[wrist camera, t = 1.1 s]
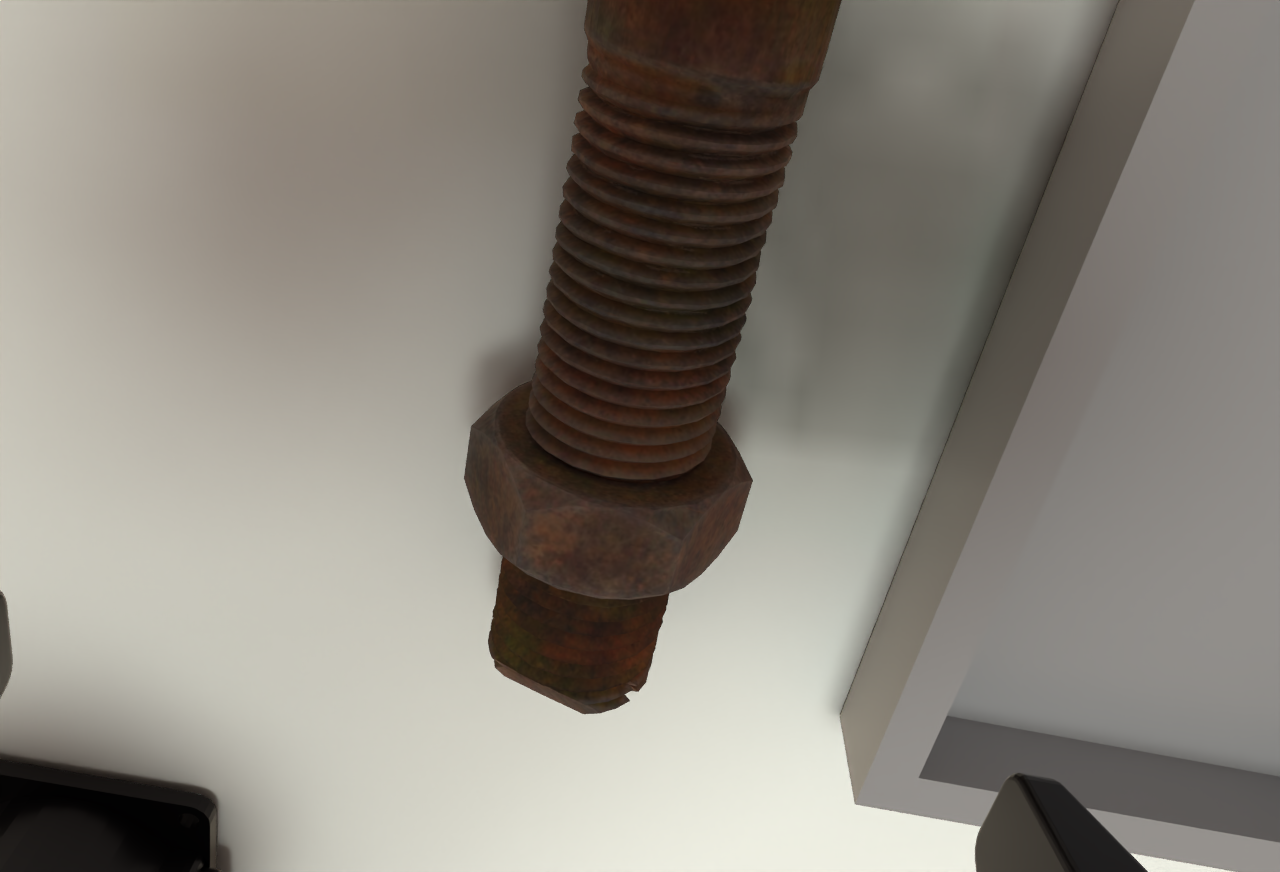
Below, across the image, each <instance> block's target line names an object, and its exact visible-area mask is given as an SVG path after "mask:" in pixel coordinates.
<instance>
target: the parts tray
mask: <svg viewBox="0 0 1280 872" xmlns="http://www.w3.org/2000/svg"><path fill="white" fill-rule="evenodd" d="M840 722H841V727H842V733H843V739H844V744H845V750H846V756H847V762H848V767H849V773H850V779H851V784H852V790H853V796H854V802H855V804H856V805H862V806H868V807H873V808H879V809H885V810H890V811H896V812H902V813H907V814H913V815H919V816H924V817H930V818H936V819H941V820H947V821H953V822H958V823H964V824H969V825H975V826H982V824H983V822H984V820H985V818H986V816H987V814H988V812H989V810H990V808H991V807H992V805H993V803H994V801H995V799H996V797H997V795H998V793H999V791H1000V789H1001V787H1002V785H1003V783H1004V782H1005V780H1006V779H1007V778H1008V777H1009V776H1010V775H1012V774H1013V773H1026V774H1031V775H1037V776H1042V777H1048V778H1052V779H1055V780H1057V781H1059V782H1060V783H1061V784H1062V785H1064V786H1065V787H1066V788H1067V789H1068V790H1069V791H1070V792H1071V793H1072V794H1073V795H1074V796H1075V797H1076V798H1077V800H1078V801H1079V802H1080V803H1081V804H1082V805H1083V806H1084V807H1085V808H1086V809H1087V810H1088V811H1089V812H1090V813H1091V814H1092V815H1093V816H1094V817H1095V818H1096V819H1097V820H1098V821H1099V822H1100V823H1101V824H1102V825H1103V826H1104V827H1105V828H1106V829H1107V830H1108V831H1109V832H1110V833H1111V834H1112V835H1113V836H1114V837H1115V839H1116V840H1117V841H1118V842H1119V843H1120V844H1121V845H1122V846H1123V847H1124V848H1125V849H1126V850H1127V851H1128V852H1129V853H1134V854H1139V855H1145V856H1151V857H1156V858H1162V859H1167V860H1173V861H1179V862H1184V863H1190V864H1196V865H1201V866H1207V867H1213V868H1218V869H1224V870H1230V871H1235V872H1280V0H1119V3H1118V5H1117V8H1116V10H1115V13H1114V15H1113V18H1112V21H1111V23H1110V26H1109V28H1108V31H1107V33H1106V36H1105V39H1104V41H1103V44H1102V46H1101V49H1100V51H1099V54H1098V56H1097V59H1096V62H1095V64H1094V67H1093V69H1092V72H1091V74H1090V77H1089V79H1088V82H1087V85H1086V87H1085V90H1084V92H1083V95H1082V97H1081V100H1080V103H1079V105H1078V108H1077V110H1076V113H1075V115H1074V118H1073V120H1072V123H1071V126H1070V128H1069V131H1068V133H1067V136H1066V138H1065V141H1064V143H1063V146H1062V149H1061V151H1060V154H1059V156H1058V159H1057V161H1056V164H1055V167H1054V169H1053V172H1052V174H1051V177H1050V179H1049V182H1048V184H1047V187H1046V190H1045V192H1044V195H1043V197H1042V200H1041V202H1040V205H1039V207H1038V210H1037V213H1036V215H1035V218H1034V220H1033V223H1032V225H1031V228H1030V231H1029V233H1028V236H1027V238H1026V241H1025V243H1024V246H1023V248H1022V251H1021V254H1020V256H1019V259H1018V261H1017V264H1016V266H1015V269H1014V271H1013V274H1012V277H1011V279H1010V282H1009V284H1008V287H1007V289H1006V292H1005V295H1004V297H1003V300H1002V302H1001V305H1000V307H999V310H998V312H997V315H996V318H995V320H994V323H993V325H992V328H991V330H990V333H989V335H988V338H987V341H986V343H985V346H984V348H983V351H982V353H981V356H980V359H979V361H978V364H977V366H976V369H975V371H974V374H973V376H972V379H971V382H970V384H969V387H968V389H967V392H966V394H965V397H964V400H963V402H962V405H961V407H960V410H959V412H958V415H957V417H956V420H955V423H954V425H953V428H952V430H951V433H950V435H949V438H948V440H947V443H946V446H945V448H944V451H943V453H942V456H941V458H940V461H939V464H938V466H937V469H936V471H935V474H934V476H933V479H932V481H931V484H930V487H929V489H928V492H927V494H926V497H925V499H924V502H923V504H922V507H921V510H920V512H919V515H918V517H917V520H916V522H915V525H914V528H913V530H912V533H911V535H910V538H909V540H908V543H907V545H906V548H905V551H904V553H903V556H902V558H901V561H900V563H899V566H898V568H897V571H896V574H895V576H894V579H893V581H892V584H891V586H890V589H889V592H888V594H887V597H886V599H885V602H884V604H883V607H882V609H881V612H880V615H879V617H878V620H877V622H876V625H875V627H874V630H873V632H872V635H871V638H870V640H869V643H868V645H867V648H866V650H865V653H864V656H863V658H862V661H861V663H860V666H859V668H858V671H857V673H856V676H855V679H854V681H853V684H852V686H851V689H850V691H849V694H848V697H847V699H846V702H845V704H844V707H843V709H842V712H841V714H840Z"/></svg>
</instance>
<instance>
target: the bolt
mask: <svg viewBox="0 0 1280 872" xmlns="http://www.w3.org/2000/svg"><path fill="white" fill-rule="evenodd" d="M841 1H842V0H588V3H587V10H586V16H585V23H584V30H585V33H586V36H587V39H588V47H587V57H588V61H589V64H588V65H587V66H586V67H585V68H584V69H583V71H582V78H583V79H584V81H585V83H586V84H587V85H588V86H589V87H587V88H585V89H582V90H580V93H579V97H578V101H579V103H580V104H581V106H582V107H583V109H584V110H583V111H581V112H579V113H576V117H575V120H574V124H575V126H576V127H577V129H578V131H579V132H580V133H578V134H576V135H574V136H572V150H571V151H572V152H573V153H574V154H573V156H572V157H571V159H570V160H569V161H568V163H567V167H566V169H567V171H568V173H569V175H570V177H569V178H568V180H567V181H566V183H565V184H564V186H563V197H564V198H565V200H564V201H563V203H562V204H561V205H560V210H559V218H560V219H561V221H560V223H559V224H558V226H557V227H556V236H555V238H556V239H557V243H556V244H555V246H554V248H553V250H552V252H553V260H554V262H553V264H552V265H551V267H550V269H549V273H550V275H551V278H552V279H551V280H550V282H549V284H548V286H547V288H546V290H547V298H548V299H547V300H546V301H545V303H544V307H543V312H544V315H545V318H544V320H543V322H542V324H541V326H540V331H541V335H542V337H541V339H540V341H539V343H538V346H537V347H538V352H539V354H538V357H537V359H536V362H535V368H536V372H535V374H534V376H533V379H532V381H530V382H528V383H525V384H523V385H520V386H518V387H517V388H515V389H514V390H512V391H511V392H509V393H508V394H507V395H505V396H504V397H503V398H501V399H500V400H499V401H497V402H496V403H495V404H494V405H493V406H492V407H491V408H490V409H489V410H487V411H486V412H485V413H484V414H483V415H482V416H481V417H480V418H479V419H478V420H477V421H476V422H475V423H474V424H473V425H472V426H471V432H470V439H469V446H468V454H467V461H466V468H465V476H464V480H465V483H466V486H467V489H468V492H469V495H470V498H471V501H472V504H473V507H474V510H475V512H476V515H477V517H478V519H479V521H480V523H481V525H482V527H483V529H484V531H485V533H486V535H487V537H488V538H489V539H490V541H491V542H492V544H493V545H494V546H495V548H496V549H497V550H498V552H499V553H500V554H501V555H502V556H503V559H502V563H501V573H500V575H499V584H498V588H497V596H496V605H495V607H494V610H493V617H494V618H493V619H492V623H491V631H490V633H489V639H488V644H489V651H490V654H491V657H492V658H493V659H494V662H495V668H496V669H497V670H498V671H499V672H501V673H502V674H503V675H504V676H505V677H507V678H509V679H511V680H513V681H515V682H518V683H520V684H522V685H524V686H526V687H528V688H530V689H532V690H534V691H536V692H538V693H540V694H542V695H544V696H546V697H548V698H550V699H553V700H555V701H557V702H559V703H561V704H563V705H565V706H567V707H570V708H572V709H574V710H576V711H578V712H580V713H582V714H595V713H602V712H606V711H609V710H612V709H616V708H618V707H620V706H621V705H623V704H625V703H627V702H629V701H630V700H629V699H628V698H627V697H626V696H625V695H624V694H626V693H628V692H630V691H636V692H638V691H639V690H640V689H641V688H642V686H643V685H644V684H645V683H646V680H647V676H648V672H649V669H650V667H651V663H652V657H653V653H654V650H655V646H656V642H657V636H658V631H659V629H660V627H661V625H662V623H663V621H662V617H663V615H664V613H665V611H666V606H667V603H668V597H669V593H671V592H674V591H676V590H679V589H682V588H684V587H685V586H687V585H688V584H689V583H691V582H692V581H693V580H695V579H696V578H697V577H698V576H700V575H701V574H702V573H703V572H704V571H705V570H706V569H707V567H708V566H709V565H710V564H711V563H712V562H713V561H714V560H715V559H716V558H717V557H718V556H719V554H720V553H721V552H722V550H723V549H724V548H725V546H726V545H727V544H728V542H729V541H730V540H731V538H732V537H733V536H734V534H735V533H736V532H737V530H738V527H739V524H740V521H741V517H742V514H743V511H744V508H745V504H746V501H747V498H748V494H749V491H750V488H751V484H752V481H753V480H752V478H751V476H750V474H749V472H748V470H747V467H746V465H745V463H744V461H743V459H742V457H741V455H740V453H739V451H738V449H737V448H736V446H735V445H734V443H733V441H732V440H731V438H730V437H729V435H728V434H727V432H726V431H725V430H724V428H723V427H722V426H721V425H720V424H719V423H718V422H717V420H718V418H719V416H720V413H721V404H722V402H723V400H724V398H725V395H726V385H727V384H728V382H729V380H730V377H731V366H732V364H733V363H734V361H735V359H736V353H735V349H736V348H737V346H738V344H739V342H740V341H741V334H740V331H741V329H742V327H743V326H744V324H745V322H746V314H745V312H746V310H747V309H748V307H749V305H750V304H751V301H752V297H751V293H750V292H751V291H752V289H753V288H754V286H755V284H756V271H757V270H758V267H759V262H760V256H761V251H760V250H761V249H762V247H763V246H764V245H765V243H766V232H767V231H766V230H767V228H768V227H769V225H770V224H771V223H772V210H773V209H775V208H776V206H777V203H778V193H779V190H778V189H779V188H780V187H782V186H783V183H784V179H785V168H784V167H785V166H787V164H788V162H789V161H790V159H791V156H792V150H791V148H790V146H789V144H791V143H793V141H794V140H795V138H796V137H797V123H796V122H795V121H797V120H799V119H800V118H801V116H802V115H803V112H804V108H805V104H806V101H807V97H808V93H809V90H810V89H811V88H812V87H813V86H814V85H815V84H816V83H817V82H818V81H819V77H820V74H821V70H822V67H823V63H824V60H825V57H826V53H827V50H828V46H829V43H830V39H831V36H832V32H833V29H834V25H835V22H836V18H837V15H838V11H839V8H840V4H841Z"/></svg>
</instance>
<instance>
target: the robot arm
mask: <svg viewBox="0 0 1280 872" xmlns="http://www.w3.org/2000/svg"><path fill="white" fill-rule="evenodd" d="M12 664H13V657H12V647H11V638H10V629H9V619H8V610H7V603H6V598H5V596H4V594H3V593H2V592H1V591H0V698H1V696H2V694H3V692H4V690H5V688H6V686H7V684H8V681H9V679H10V675H11V671H12ZM216 841H217V810H216V807H215V805H214V804H213V802H212V801H211V800H210V799H208V798H206V797H205V796H203V795H199V794H196V793H191V792H185V791H179V790H173V789H167V788H161V787H155V786H150V785H144V784H138V783H132V782H126V781H120V780H115V779H109V778H103V777H97V776H91V775H85V774H79V773H74V772H68V771H62V770H56V769H50V768H44V767H38V766H33V765H27V764H21V763H15V762H9V761H3V760H0V872H222V871H221V870H220V869H216ZM975 863H976V872H1148V871H1147V870H1146V869H1145V868H1144V867H1143V866H1142V865H1141V864H1140V863H1139V862H1138V861H1137V860H1136V859H1135V858H1134V857H1133V856H1132V855H1131V854H1130V853H1129V852H1128V851H1127V850H1126V849H1125V848H1124V847H1123V846H1122V845H1121V844H1120V843H1119V842H1118V841H1117V840H1116V839H1115V837H1114V836H1113V835H1112V834H1111V833H1110V832H1109V831H1108V830H1107V829H1106V828H1105V827H1104V826H1103V825H1102V824H1101V823H1100V822H1099V821H1098V820H1097V819H1096V818H1095V817H1094V816H1093V815H1092V814H1091V813H1090V812H1089V811H1088V810H1087V809H1086V808H1085V807H1084V806H1083V805H1082V804H1081V803H1080V802H1079V801H1078V800H1077V798H1076V797H1075V796H1074V795H1073V794H1072V793H1071V792H1070V791H1069V790H1068V789H1067V788H1066V787H1065V786H1064V785H1062V784H1061V783H1060V782H1059V781H1057V780H1055V779H1052V778H1048V777H1042V776H1037V775H1031V774H1026V773H1013V774H1012V775H1010V776H1009V777H1008V778H1007V779H1006V780H1005V782H1004V783H1003V785H1002V787H1001V789H1000V791H999V793H998V795H997V797H996V799H995V801H994V803H993V805H992V807H991V808H990V810H989V812H988V814H987V816H986V818H985V820H984V822H983V824H982V826H981V828H980V830H979V833H978V836H977V840H976V846H975Z"/></svg>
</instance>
